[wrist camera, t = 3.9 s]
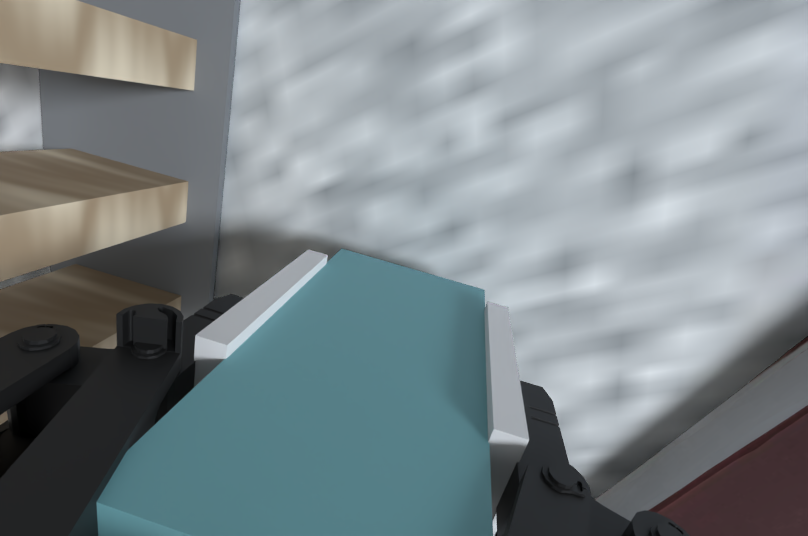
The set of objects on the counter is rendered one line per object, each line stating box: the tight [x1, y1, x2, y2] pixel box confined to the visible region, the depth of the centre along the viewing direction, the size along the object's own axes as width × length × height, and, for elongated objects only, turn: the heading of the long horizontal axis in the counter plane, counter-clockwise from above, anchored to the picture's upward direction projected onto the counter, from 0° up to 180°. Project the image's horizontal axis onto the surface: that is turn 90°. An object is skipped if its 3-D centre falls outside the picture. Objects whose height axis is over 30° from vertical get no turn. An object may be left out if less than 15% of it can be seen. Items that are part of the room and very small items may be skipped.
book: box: [595, 337, 808, 536], centre depth 19 cm, size 12×19×3 cm, turn 144°
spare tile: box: [97, 249, 493, 536], centre depth 12 cm, size 2×6×12 cm, turn 76°
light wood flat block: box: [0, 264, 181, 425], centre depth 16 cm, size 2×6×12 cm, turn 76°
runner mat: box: [39, 0, 240, 320], centre depth 20 cm, size 31×9×1 cm, turn 166°
